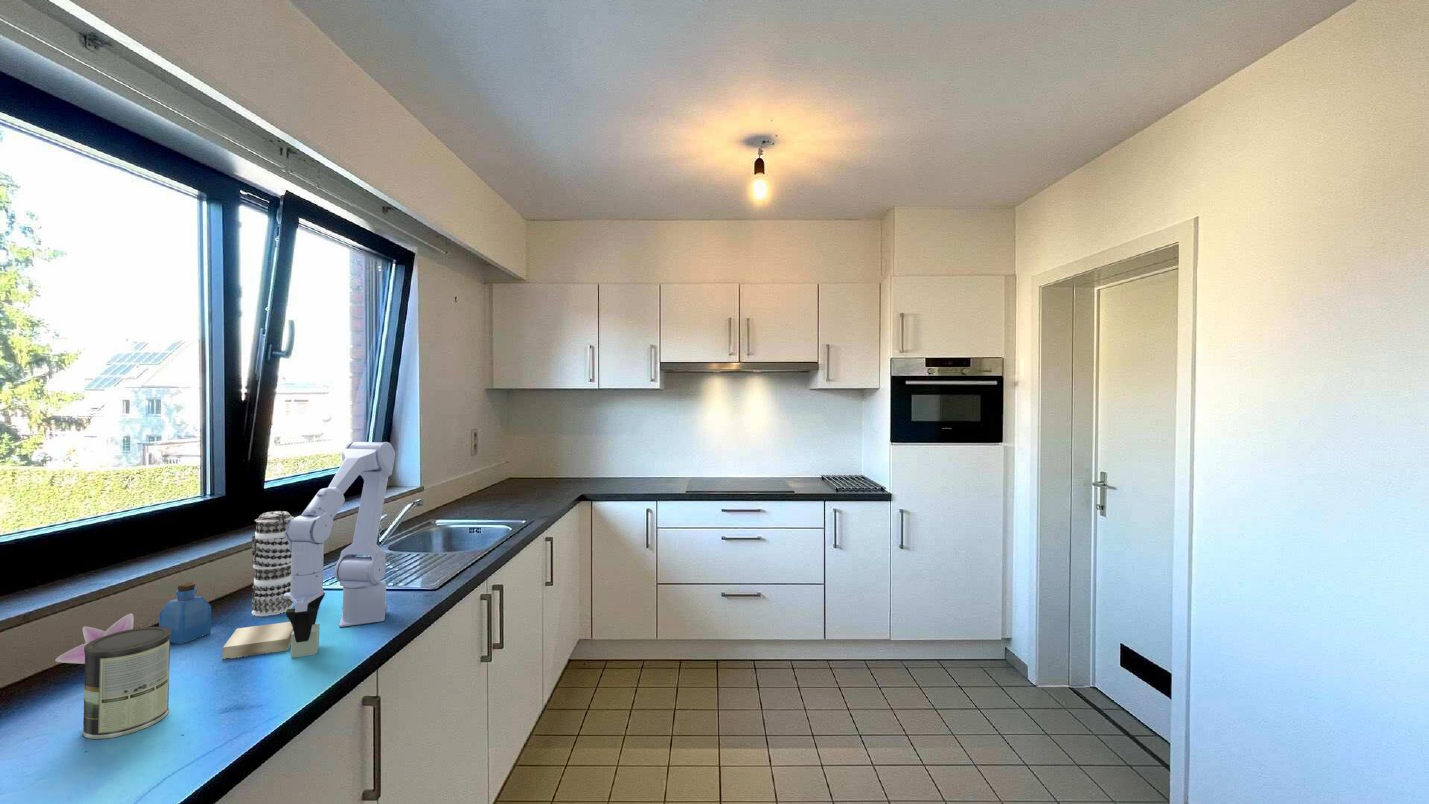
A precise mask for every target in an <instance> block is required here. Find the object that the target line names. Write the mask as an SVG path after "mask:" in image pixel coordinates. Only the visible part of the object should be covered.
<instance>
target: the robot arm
mask: <svg viewBox="0 0 1429 804" xmlns="http://www.w3.org/2000/svg"><path fill="white" fill-rule="evenodd" d="M341 456H342V463H341V465H340V466H339V468H338V470H337V471H336V473H335V475H334V476H333V478H332V480H331V482H330V483H329V484H328V487H324V488H320V489H319V490H318V491H317V493H316V494H315V495H314V497H313V498H312V499H311V501H310V502H309V503H308V505H307V506H306V508H305V509H304V510H303V512H302V513H301V515H298V516H295V517H294V518H293V519H292V520H291V521H290V522H289V524H288V526H287V529H286V531H285V538H286V540H287V541H288V544H289V549H290V551H291V552H292V554H291V588H290V593H285V594H284V595H283V598H284V599H287V598H289V599H290V600H291V601H292V602H293V603H292V604H295V605H294V607H293V608H292V609H287V611H286V612H285V615H286V617H287V619H288V621H289V622H291V624H292V627H293V631H294V636H295V640H296V642H297V643H298V642H305V641H308V640H309V637H310V634H311V629H312V625H314V624H316V623H317V616H318V613H319V609H320V605H321V603H322V601H323V600H324V598H325V595H326V592H324V588H323V587H324V586H323V585H324V582H323V581H324V557H325V556H324V549H325V541H326V540H328V539H329V538H330V536H331V532H332V527H333V524H334V518H335V517H336V516H337V514H338V512H339V511H340V509H341V507H342V506H343V504H345V501H346V500H345V499H346V498H345V496H344V494H345V493H346V492H347V490H348V489H349V487H351V486H352V484H353V483H354V482H355V480H356V479H358V477H359V476H361V478H362V479H363V487H362V490H361V497H360V503H359V506H358V510H357V511H358V513H357V519H356V522H355V528H354V531H353V539H352V542H351V544H350V545H348V546H346V547H345V548H344V549H342V550H341V551H340V556H339V559H338V561H337V563H336V564H335V567H334V577H335V579H336V581H337V582H339V586H341V587H342V615H341V618H340V620H339V622H338V623H339V624H338V627H339V628H341V627H343V628H344V627H351V626H357V625H358V626H359V625H365V624H372V623H373V624H374V623H380V622H384V621H385V619H386V612H387V611H388V603H386V602H387V601H386V600H387V597H386V596H387V581H384V580H382V579H383V578H384V576H385V574H386V572H387V571H386V570H387V564H386V557H387V556H386V555H387V553H386V551H385V550H384V549H383V548H382V547H380V546H379V545H378V544H377V541H378V537H379V536H378V535H379V529H380V524H381V520H382V515H383V514H382V513H383V509H384V502H385V499H386V498H385V496H386V493H387V487H388V480H389V477H391V476H392V475H393V474H392V473H393V470H394V465H395V459H396V451H395V449H394V447H393V445H392V444H391V442H388V441H382V442H378V441H377V442H376V441H372V442H370V441H356V440H353V441H350V442H348V443H347V444H346V446H345V448H344V449H343V451H342V455H341ZM361 555H363V556H361ZM365 555H366V556H365Z"/></svg>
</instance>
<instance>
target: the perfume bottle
mask: <svg viewBox="0 0 1429 804" xmlns="http://www.w3.org/2000/svg"><path fill="white" fill-rule="evenodd" d="M196 585H197V582H195V581H189V582H182V583H178V584H177V585H176V587H177V590H176V591H175V596H176V597H177V598H174V599H171V600H168V602H167V603H166V604H165V605H164V607H163V608H162V609H161V611H160V612H159V618H158V620H159V622H158V623H159V624H158V627H166V628H169V629H170V630H171V636H170V642H174V643H173V644H177V643H179V644H178V645H183V644H185V643H187V642H186V641H188V642H190V640H191V641H193V640H195V639H194V638H196V639H199V638H201V636H202V635H204V636H207V635H209V634H208V633H210V634H211V629H212V624H211V623H212V606H211V605H210V603H209V602H208V601H207V600H206V599H205V598H204V596H198V595H196V593H197V589H198V588H197V587H196ZM206 634H207V635H206ZM198 637H199V638H198ZM202 637H203V636H202ZM192 639H193V640H192ZM184 642H185V643H184Z"/></svg>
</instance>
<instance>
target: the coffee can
mask: <svg viewBox="0 0 1429 804" xmlns="http://www.w3.org/2000/svg"><path fill="white" fill-rule="evenodd" d="M170 636H171V630H170V629H169V628H166V627H159V626H144V627H137V628H133V629H130V630H125V631H120V632H116V633H112V634H109V635H106V636H103V637H100V638H98V639H95V640H93V641H91V642H89V643H88V644H86V645H85V647H84V653H85V664H84V678H83V679H84V682H83V683H84V684H83V687H84V689H83V690H84V691H83V724H82V725H83V729H82V736H83V737H84V738H87V739H90V740H104V739H112V738H113V739H114V738H117V737H122V736H126V735H130V734H133V733H135V732H138V731H141V730H145V729H147V728H149V727H151V726H153V725H155V724H157V723H159V722H160V721H162V720H163V719H164V718H166V716H167V715H168V714H169V711H170V707H169V695H170V693H169V692H170V659H171V657H170V654H171V643H170Z"/></svg>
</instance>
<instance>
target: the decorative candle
mask: <svg viewBox="0 0 1429 804" xmlns="http://www.w3.org/2000/svg"><path fill="white" fill-rule="evenodd" d="M294 518H295V517H294V516H292V515H291V514H290V512H288V511H283V510H282V511H281V510H275V511H267V512H263V513H261V514H260V515H259V516H258V518H256V519H254V522H256V526H255V527H256V531H255V532H254V535H253V536H251V541H252V542H253V544H252V545H251V547H252V551H251V555H252V556H254V557H253V558H252V560H251V561H252V563H253V565H252V568H253V569H255V572H254V573H255V575H254V576H255V577H254V578H253V585H252V587H251V589H252V590H253V591H252V593H251V595H252V596H253V597H252V600H251V603H252V606H251V610H252V611H251V615H252V616H254V615H255V616H254V617H269V616H268V615H272V616H276V615H281V614H284V613H283V612H285V613H286V611H287V609H292V608H294V606H293V604H294V603H293V602H292V601H291V600H290V599H289V598H287V599H284V598H283V595H284V594H285V593H290V588H291V554H292V552H291V551H290V549H289V544H288V541H287V540H286V538H285V531H286V529H287V526H288V524H289V522H290V521H291V520H292V519H294ZM280 613H281V614H280Z"/></svg>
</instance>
